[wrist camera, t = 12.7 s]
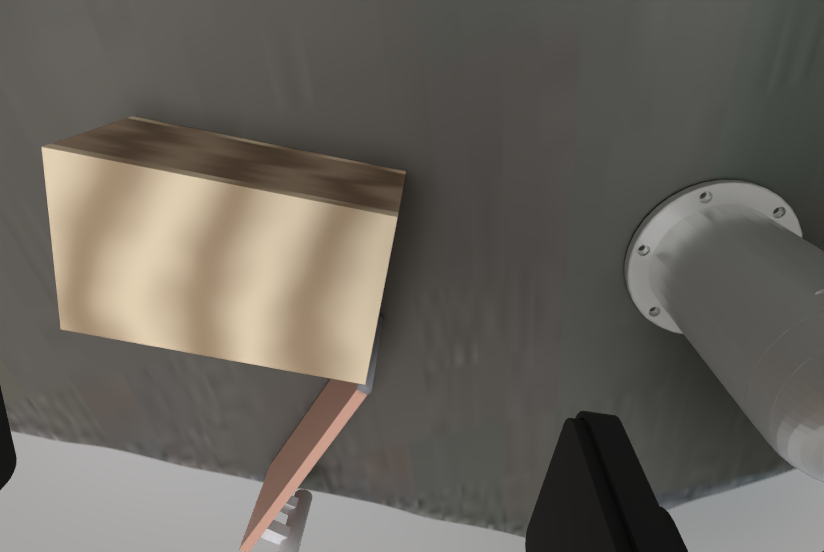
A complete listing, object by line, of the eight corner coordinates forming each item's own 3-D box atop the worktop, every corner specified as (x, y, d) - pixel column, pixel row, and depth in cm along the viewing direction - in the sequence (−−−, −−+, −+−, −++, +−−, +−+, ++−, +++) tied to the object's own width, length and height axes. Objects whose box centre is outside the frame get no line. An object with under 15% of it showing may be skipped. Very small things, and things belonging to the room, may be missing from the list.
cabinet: (406, 171, 40) (397, 217, 31) (379, 310, 45) (365, 384, 36) (132, 116, 39) (41, 146, 30) (137, 265, 44) (60, 329, 35)
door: (375, 313, 45) (350, 437, 32) (419, 337, 46) (412, 468, 33) (269, 464, 53) (213, 614, 40) (308, 483, 54) (266, 636, 40)
